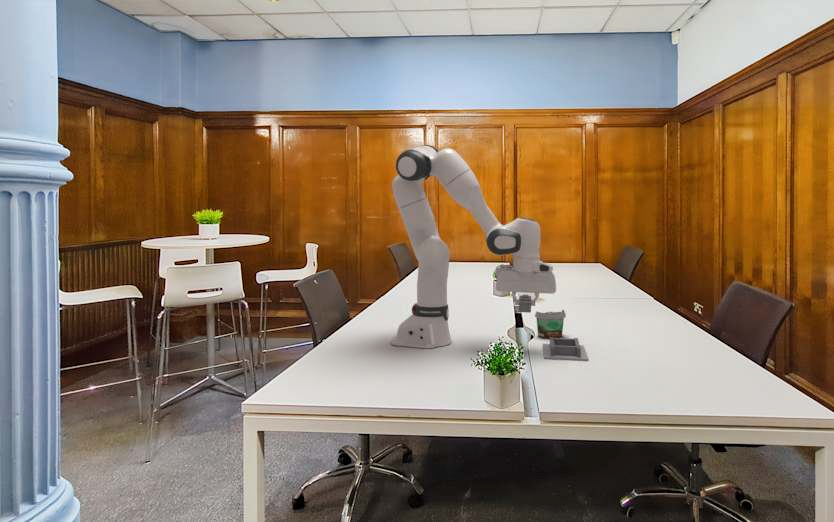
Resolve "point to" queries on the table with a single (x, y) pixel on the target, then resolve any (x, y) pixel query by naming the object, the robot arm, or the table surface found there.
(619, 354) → the table surface
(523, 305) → the servo
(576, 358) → the pocket
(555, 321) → the food container
